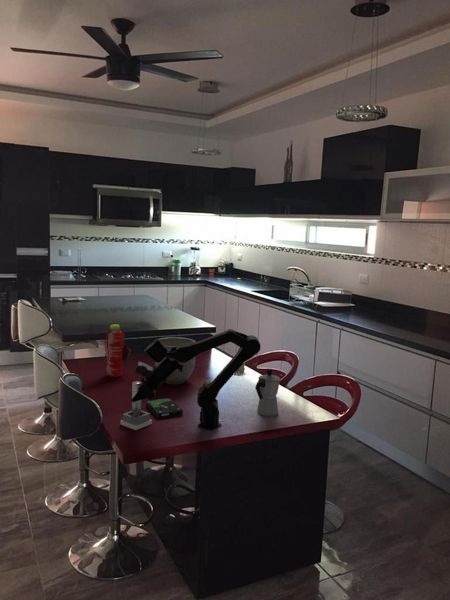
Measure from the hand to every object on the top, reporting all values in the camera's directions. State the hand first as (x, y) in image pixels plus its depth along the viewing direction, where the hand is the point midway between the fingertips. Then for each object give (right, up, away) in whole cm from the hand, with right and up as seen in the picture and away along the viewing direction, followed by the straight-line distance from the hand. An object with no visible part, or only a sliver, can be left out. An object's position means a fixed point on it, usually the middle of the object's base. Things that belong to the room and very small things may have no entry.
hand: (132, 399), depth 186 cm
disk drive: (+9, -8, +16) cm, 20 cm away
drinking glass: (+1, -7, +1) cm, 7 cm away
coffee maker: (+50, -9, +17) cm, 54 cm away
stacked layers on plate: (+41, 0, +73) cm, 84 cm away
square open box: (+1, -9, +2) cm, 10 cm away
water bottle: (-18, 0, +59) cm, 61 cm away
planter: (+10, -2, +53) cm, 54 cm away
